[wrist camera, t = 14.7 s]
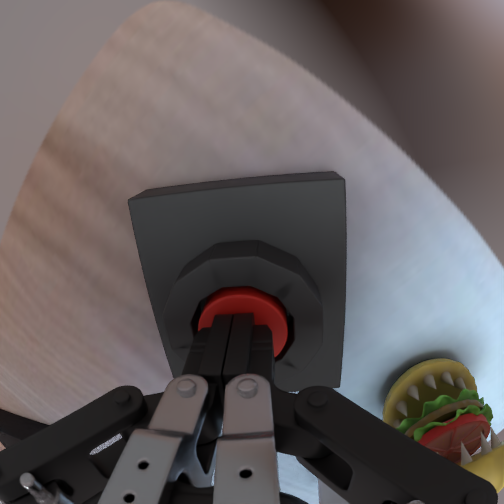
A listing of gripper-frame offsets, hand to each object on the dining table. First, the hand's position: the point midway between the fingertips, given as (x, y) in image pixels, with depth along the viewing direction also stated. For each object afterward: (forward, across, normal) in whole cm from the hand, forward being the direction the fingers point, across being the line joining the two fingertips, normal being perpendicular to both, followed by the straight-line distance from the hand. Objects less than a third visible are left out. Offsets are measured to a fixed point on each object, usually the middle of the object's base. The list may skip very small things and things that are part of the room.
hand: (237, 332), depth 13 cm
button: (+2, 0, 0) cm, 2 cm away
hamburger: (+4, -11, +9) cm, 15 cm away
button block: (+4, 0, 0) cm, 4 cm away
